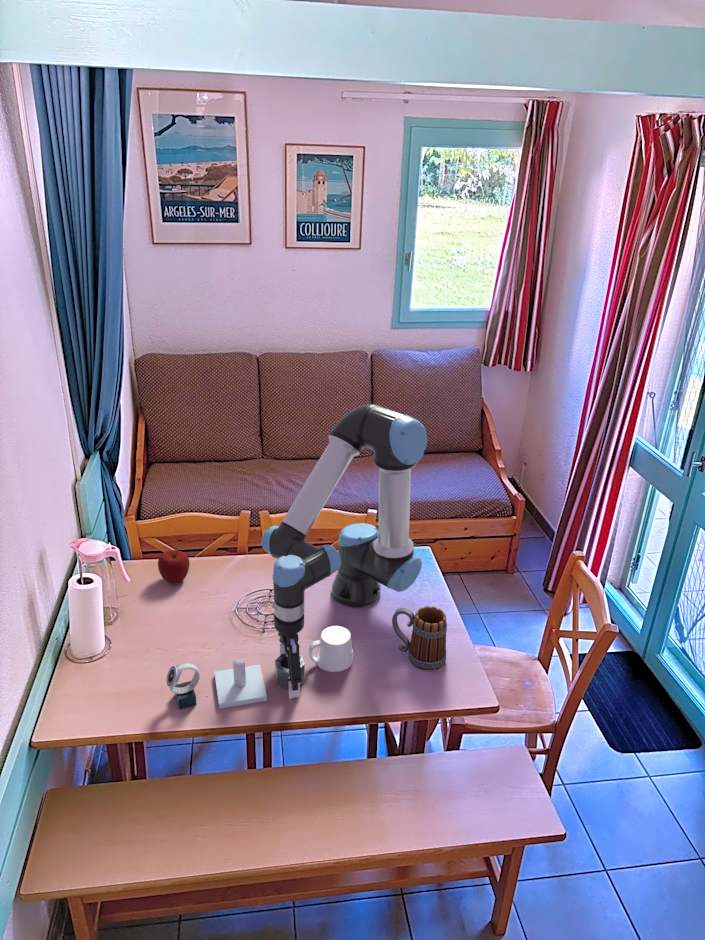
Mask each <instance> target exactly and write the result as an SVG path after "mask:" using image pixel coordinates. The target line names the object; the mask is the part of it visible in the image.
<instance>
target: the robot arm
mask: <svg viewBox="0 0 705 940" xmlns="http://www.w3.org/2000/svg"><path fill="white" fill-rule="evenodd" d="M329 433H330V434H329V435H328V441H329V442H328V444H327V446H326V447H325V449H324V451H323V453H322V454H321V456H320V458H319V459H318V460H317V462H316V464H315V465H314V468H313V469H312V471H311V473H310V474H309V476H308V477H307V479H306V481H305V483H304V484H303V485H302V488H301V489H300V491H299V492H298V494H297V496H296V498H295V499H294V501H293V502H292V504H291V505H290V508H289V509H288V511H287V512H286V514H285V515H284V518H283V519H282V521H281V523H280V524H279V525H272V526H270V527H269V528H268V529H266V530H265V531H264V532H263V533H262V536H261V547H262V549H263V550H264V552H266V553H267V554H268V555H271V557H273V558H274V559H275V561H274V564H273V571H272V573H273V574H272V582H273V604H271V609H273V610H274V611H273V613H274V615H273V616H274V617H273V625H274V628H275V630H276V631H277V636H278V637H279V643H280V644H279V656H280V655H281V654H285V653H287V658H288V667H289V675H290V677H289V679H287V682H288V681H289V690H288V698H289V700H292V699H295V698H300V697H301V688H300V687H301V686H300V683H301V682H302V679H301V668H300V656H301V654H300V644H299V633H300V632H301V631H302V630H303V629H304V626H305V590H307V589H309V588H311V587H312V586H314V585H315V584H318V583H319V582H322V581H323V580H325V579H327V578H328V577H330V576H331V575H332V574H334V573H336V575H335V578H334V580H333V582H332V584H331V596H332V598H333V599H334V600H335V601H336V602H337V603H338V604H341V605H342V606H345V607H349V608H359V609H360V608H365V607H369V606H372V605H374V604H375V603H377V602H378V600H379V599H380V597H381V585H383V586H384V587H386V588H388V589H391V590H393V591H396V592H401V593H402V592H404V591H406V590H408V589H409V588H410V587H411V586H412V585H413V584H414V583H415V582H416V580H417V579H418V577H419V575H420V573H421V569H422V565H423V564H422V559H421V558H420V557H419V556H418V555H415V554H414V553H415V552H414V550H415V545H414V542H413V540H412V539H411V538H410V511H411V509H410V508H411V477H412V469H413V468H414V467H416V466H417V464H418V463H419V461H420V460H421V459H423V456H424V455H425V450H427V449H426V448H427V446H428V445H427V444H428V434H427V430H426V428H425V426H424V425H423V423H422V422H421V421H419V420H418V419H416V418H415V417H414V418H413V417H412V416H410V415H408V414H402V413H401V412H400V413H399V412H397V411H394V410H392V409H388V408H386V407H383V406H381V405H378V404H375V403H374V404H373V403H369V404H363V405H360V406H357V407H355V408H353V409H352V410H350V411H349V412H348V413H347V414H345V415H344V416H343V417H342V418H341V419H340V420H339V421H338V422H337V424H335V426H334V427H333V428H332V429H331V432H329ZM365 448H367V449H369V450H371V451H372V452H373V454H372V455H373V456H372V457H373V458H372V459H373V461H372V462H373V464H374V466H375V467H376V468H378V528H377V527H376V526H375V525H373V524H370V523H364V522H362V523H351V524H349V525H347V526H345V527H344V528H342V529H341V531H340V532H339V535H338V541H337V546H338V547H337V549H336V547H334V546H333V545H331V544H324V545H323V544H322V545H320V546H319V547H317V546H314V545H313V544H311V543H309V542H307V541H306V540H305V538H306V537H307V535H308V533H309V532H310V530H311V528H312V527H313V525H314V523H315V522H316V520H317V519H318V516H319V515H320V514H321V512H322V510H323V508H324V507H325V505H326V504H327V502H328V501H329V498H330V496H331V495H332V493H333V491H334V490H335V488H336V486H337V485H338V483H339V482H340V480H341V478H342V477H343V475H344V473H345V472H346V470H347V468H348V466H349V465H350V463H351V461H352V460H353V459H354V458H355V457H357V456H359V455H360V453H361V452H362V450H363V449H365Z"/></svg>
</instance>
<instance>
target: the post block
mask: <svg viewBox="0 0 705 940" xmlns="http://www.w3.org/2000/svg"><path fill="white" fill-rule="evenodd" d="M232 665H233V667H232V668H228V669H220V670H216V671H215V670H214V673H213V674H214V679H215V680H214V681H215V687H216V694H217V701H218V707H219V708H218V709H225V708H226V709H227V708H231V707H238V706H243V705H249V704H255V703H260V702H261V703H263V702H267V701H268V695H267V691H266V685H265V682H264V677H263V672H262V667H261V664H259V663H258V664H253V665H248V666H246V661H245V659H243V658H236V659H234V660H233V662H232Z"/></svg>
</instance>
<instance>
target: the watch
mask: <svg viewBox="0 0 705 940" xmlns="http://www.w3.org/2000/svg"><path fill="white" fill-rule="evenodd" d="M184 670H185V671H186V670H194V675H193V677H192V678H191V680H188V681H185V682H182V683H179V681H180V678H181V675H182V674H183V673H182V672H183V671H184ZM200 678H201V675H200V672H199V669H198V667H197V665H195V664H194V663H192V662H182V663H181V662H180V663H177V664H175V665H173V666H171V667H170V668H169V669H168V672H167V676H166V685H167V686H168V687H169V690H170V692H172V693H173V694H174V696H175V699H176V702H177V706H178V709H179V710H183V709H187V708H190V707H193V706H197V695H196V691H195V688H196V686H198V683H199V681H200Z"/></svg>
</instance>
